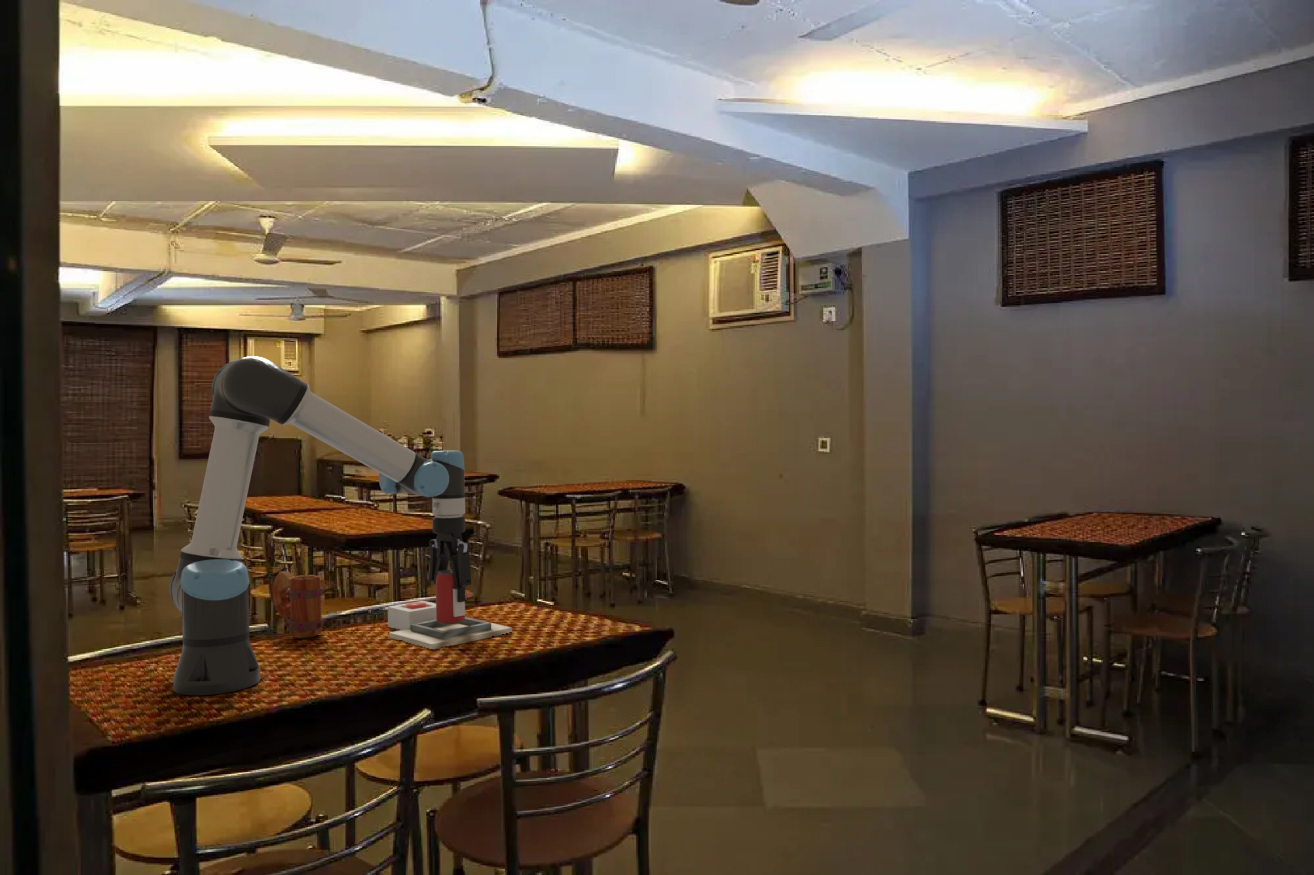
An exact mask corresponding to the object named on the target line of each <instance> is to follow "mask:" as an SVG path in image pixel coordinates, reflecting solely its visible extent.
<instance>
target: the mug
mask: <svg viewBox="0 0 1314 875" xmlns="http://www.w3.org/2000/svg"><path fill="white" fill-rule="evenodd" d="M288 589H289V590H288ZM324 593H326V589H325V588H323V587H322V586H321V576H320V575H315V574H308V575H306V576H305V575H296V576H293V574H292V573H291V572H290V571H287V570H286V571H281V572H279V573H277V575H276V577H275V579H274V580H273V584H272V600H273V604H274V607H275V609H276V611H277V613H278V615H279V616H280V617H281V618H282V619H286V618H288V619H287V621H285V623H284V624H285V627H286V628H288V629H289V634H290V636H291V637H293V638H295V639H299V640H300V639H303V640H304V639H309V638H310V639H311V638H314V637H317V636H318V635H320V634H321V633H322V630H323V629H322V628H323V627H324V624H326V623H327V619H326V618H324V617H323V616H322V596H323V594H324ZM288 597H289V598H290V601H289V599H288Z"/></svg>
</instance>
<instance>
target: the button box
mask: <svg viewBox="0 0 1314 875" xmlns="http://www.w3.org/2000/svg"><path fill="white" fill-rule="evenodd" d="M414 602H415V601H413V602H412V603H414ZM418 602H424V603H426V607H424V608H418V609H408V608H406V604H408V603H409V602H408V603H407V602H406V603H403V604H401V603H400V604H395V605H390V606H387V627H388V628H391V629H394V628H396V629H395V630H398V629H400V630H405V629H411V624H416V623H421V622H427V621H432V620H436V602H432V601H431V602H430V601H425V600H419V601H418ZM400 630H399V631H400Z"/></svg>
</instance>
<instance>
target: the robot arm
mask: <svg viewBox="0 0 1314 875" xmlns="http://www.w3.org/2000/svg"><path fill="white" fill-rule="evenodd" d="M211 395H212V401H211V405H210V411H209V416H208V419H209V420H210V421H211V422H212V424H213V425H214V430H213V431H214V432H213V437H212V441H211V446H210V449H209V454H208V460H207V465H206V470H205V474H204V479H203V484H202V490H201V493H200V498H199V504H198V508H197V512H196V518H195V524H194V526H193V527H194V528H193V532H192V537H191V542H189V544H187V545H185V546H184V547H182V548H181V550H180V555H179V559H178V564H177V568H176V570H175V572H174V573H173V575H172V578H171V580H170V585H169V594H170V598H171V601H172V603H173V605H174V607H175V608H176V609H177V610H178V611H179V613H181V617H182V618H181V621H182V623H181V624H182V626H181V628H182V650H181V653H180V656H179V660H178V662H177V665H176V670H175V672H174V675H173V680H172V681H173V682H172V684H173V685H172V686H173V692H175V693H176V694H177V695H178V694H179V695H185V696H210V695H212V696H213V695H219V694H221V695H222V694H225V693H226V694H227V693H231V692H237V691H240V690H243V689H246V688H250V687H252V686H254V685H257V684H258V683H259V682H260V681H261V669H260V665H259V663H258V660H257V658H256V655H255V653H254V650H253V648H252V645H251V641H250V607H249V605H250V604H249V602H250V601H249V600H250V599H249V598H250V597H249V584H250V578H249V574H248V573H249V571H248V568H247V566H246V565H245V564H244V563H243V556H242V554H241V552H240V551H239V550H238V542H239V537H240V532H241V527H242V521H243V516H244V512H245V508H246V502H247V498H248V493H249V487H250V483H251V476H252V472H253V469H254V463H255V459H256V452H257V448H258V443H259V439H260V438H259V437H260V435H261V434H262V433H264V432H265V431H267V430H268V429H269V428H270V422H271V420H272V421H274V422H276V423H278V424H280V425H282V426H286V425H292V426H294V427H296V428H297V429H300V430H301V431H303V432H304V433H306V434H308V435H310V436H312V437H313V438H315V439H317V440H319V441H321V442H323V443H324V444H326V445H328V446H330V447H332V448H334V449H335V450H338V452H341V453H342V454H345V455H346V456H348V457H349V458H352V459H353V460H356V461H357V462H359V463H361V464H363V465H364V466H367V467H369V468H370V469H372V470H374V471H375V472H377V473H378V483H379V486H380V490H381V491H382V492H383V494H385V495H387V494H389V495H390V494H391V495H392V494H393V495H398V494H409V495H415V496H422V497H424V498H430V497H431V498H432V499H431V500H432V504H431V507H432V515H433V516H434V517H433V518H432V520H431V521H432V533H433V534H436V537H435V539H430V540H429V541H428V545H429V551H430V552H429V571H428V572H429V574H428V578H429V581H431V582H432V583H433V584H434V593H435V597H436V578H437V575H438V571H441V570H448V566H449V563H450V567H451V568H450V569H452V573H453V578H454V583H455V586H454V587H453V616H454V617H457V616H463V615H465V616H466V589H467V587H469V586H471V585H472V573H471V572H472V571H471V560H470V551H471V549H470V548H471V544H470V542H464V541H463V538H462V533H464V532H465V531H466V518H465V516H464V515H465V514H466V496H465V471H466V468H465V458H464V453H463V452H462V451H461V450H453V449H452V450H433V451H432V452H431V457H430V459H429V458H425V457H424V456H422V455H420V454H418V453H416V452H415V451H414V450H412V449H410V448H408V447H407V446H405V445H404V444H402V443H399V442H398V441H396V440H394V439H393V438H391V437H390V436H388V435H386V434H384V433H383V432H380V431H379V430H377V429H376V428H374V427H373V426H370V425H368V424H367V423H365V422H363V421H362V420H360V419H359V418H357V417H355V416H353V415H351V414H349V413H348V412H346V411H344V410H343V409H341V408H339V407H338V406H336V405H334V404H332V403H330V402H329V401H327V400H326V399H323V398H322V397H320V396H319V395H317V394H315V393H314V392H312V391H311V388H310V385H309V384H308V383H307V382H304V381H303V380H302V379H300V378H298V377H296V375H293V374H292V373H290V372H289V371H287V370H286V369H284V368H282V367H281V366H279V365H278V364H276V363H275V362H273V361H271V360H270V359H267V358H265V357H262V356H252V355H251V356H246V357H245V356H244V357H241V358H239V359H235V360H232V361H229V362H227V363H226V364H225V365H223V366H222V367H221V368H219V370H218V371H217V372H216V374H215V376H214V378H213V380H212V385H211Z"/></svg>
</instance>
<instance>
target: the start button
mask: <svg viewBox="0 0 1314 875" xmlns="http://www.w3.org/2000/svg"><path fill="white" fill-rule="evenodd" d="M413 602H414V603H413ZM413 602H408V604H407V603H405V604H406V608H408V609H418V608H424V607H426V603H424V602H419V601H413Z"/></svg>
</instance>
